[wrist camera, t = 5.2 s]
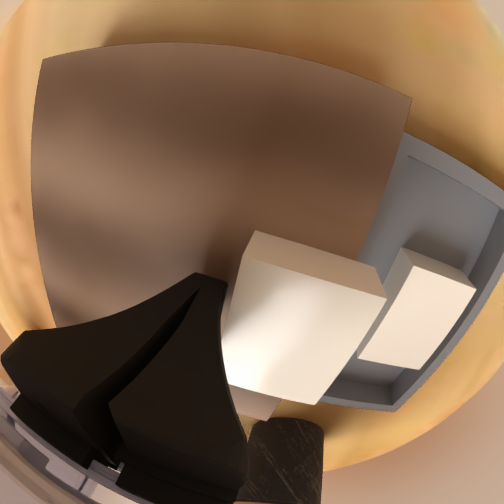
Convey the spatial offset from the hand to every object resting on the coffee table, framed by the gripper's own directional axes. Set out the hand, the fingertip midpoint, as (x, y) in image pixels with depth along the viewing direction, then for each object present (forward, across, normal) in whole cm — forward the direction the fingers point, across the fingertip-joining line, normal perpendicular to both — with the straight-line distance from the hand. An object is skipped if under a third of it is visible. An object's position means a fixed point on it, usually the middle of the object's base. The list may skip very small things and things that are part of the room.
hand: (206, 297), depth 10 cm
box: (+5, -10, 0) cm, 11 cm away
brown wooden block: (+5, +3, 0) cm, 6 cm away
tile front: (+1, -3, 0) cm, 3 cm away
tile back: (+2, -10, 0) cm, 11 cm away
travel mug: (+5, -9, +18) cm, 21 cm away
